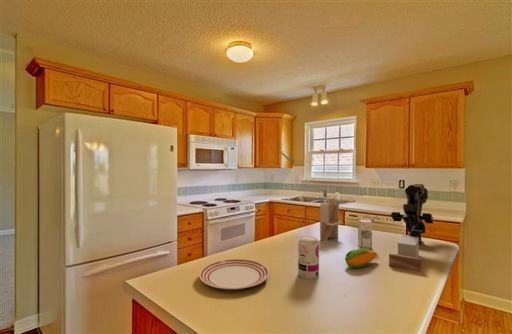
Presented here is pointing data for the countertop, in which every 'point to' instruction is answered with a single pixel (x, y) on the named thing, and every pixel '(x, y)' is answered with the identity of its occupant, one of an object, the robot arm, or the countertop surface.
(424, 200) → the robot arm
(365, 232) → the syrup box
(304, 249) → the supplement can
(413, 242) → the slab
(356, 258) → the corn
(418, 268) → the stop rail
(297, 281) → the countertop surface
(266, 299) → the countertop surface
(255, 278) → the dinner plate
